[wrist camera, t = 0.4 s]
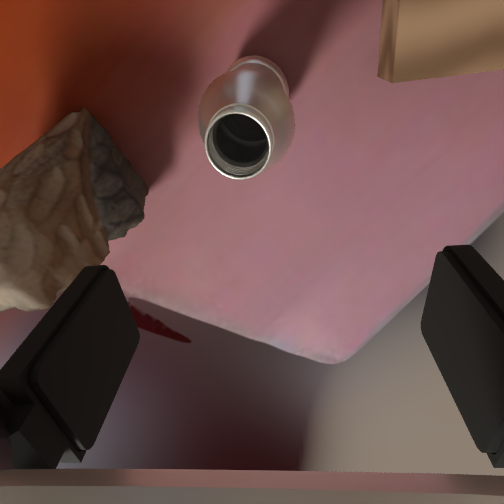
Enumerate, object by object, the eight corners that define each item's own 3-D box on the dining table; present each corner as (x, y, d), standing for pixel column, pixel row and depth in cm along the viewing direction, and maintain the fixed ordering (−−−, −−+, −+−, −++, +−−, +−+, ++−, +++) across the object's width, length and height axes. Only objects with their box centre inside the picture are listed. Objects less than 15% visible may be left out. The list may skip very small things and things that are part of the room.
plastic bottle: (264, 38, 32) (250, 43, 15) (300, 101, 35) (323, 165, 18) (211, 81, 34) (149, 127, 17) (249, 137, 37) (228, 223, 20)
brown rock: (161, 198, 42) (84, 309, 25) (90, 240, 46) (-18, 359, 29) (87, 103, 36) (-77, 163, 19) (13, 160, 40) (-175, 252, 23)
